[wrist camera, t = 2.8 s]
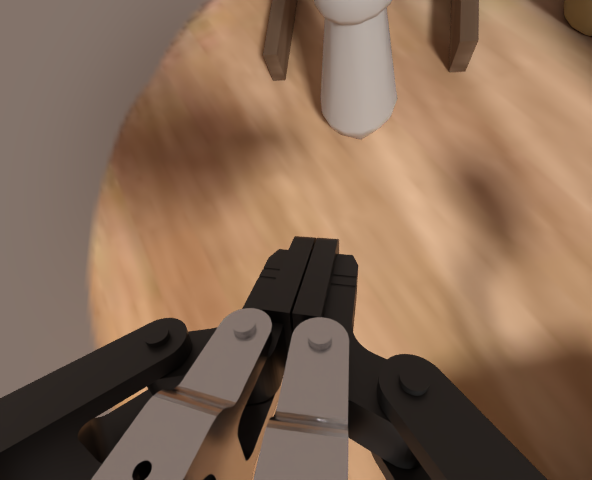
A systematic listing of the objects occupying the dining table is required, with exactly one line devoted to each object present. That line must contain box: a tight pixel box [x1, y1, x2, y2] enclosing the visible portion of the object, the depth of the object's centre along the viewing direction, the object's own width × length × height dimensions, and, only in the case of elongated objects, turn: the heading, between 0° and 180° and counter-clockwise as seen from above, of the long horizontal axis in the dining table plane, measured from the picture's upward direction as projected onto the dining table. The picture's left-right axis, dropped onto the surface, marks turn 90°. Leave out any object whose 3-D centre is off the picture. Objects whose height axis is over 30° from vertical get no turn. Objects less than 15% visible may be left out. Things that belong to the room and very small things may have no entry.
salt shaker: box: [314, 0, 397, 139], centre depth 20 cm, size 6×6×13 cm
